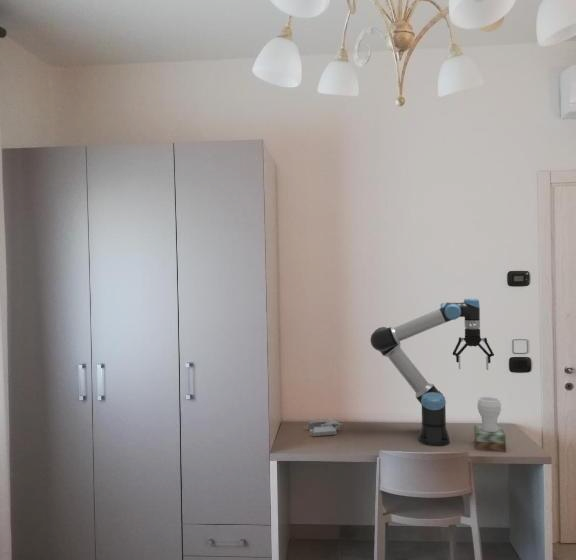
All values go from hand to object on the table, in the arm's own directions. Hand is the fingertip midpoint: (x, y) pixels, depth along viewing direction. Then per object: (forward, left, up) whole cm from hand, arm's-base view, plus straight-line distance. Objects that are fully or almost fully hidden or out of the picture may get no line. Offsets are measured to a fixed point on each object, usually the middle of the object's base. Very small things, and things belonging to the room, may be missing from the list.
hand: (473, 369), depth 263 cm
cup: (+6, -16, -27) cm, 32 cm away
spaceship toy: (-77, -11, -35) cm, 86 cm away
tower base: (+6, -16, -35) cm, 38 cm away
